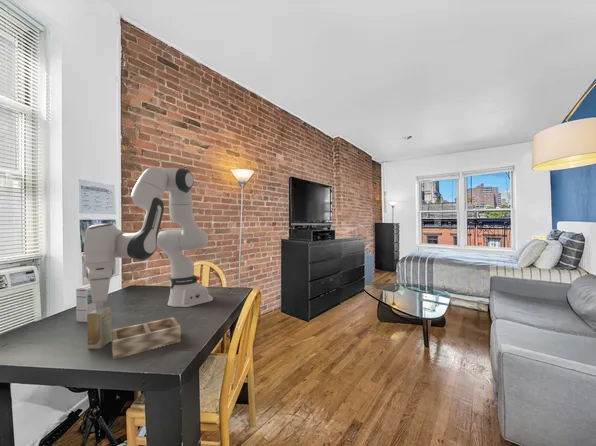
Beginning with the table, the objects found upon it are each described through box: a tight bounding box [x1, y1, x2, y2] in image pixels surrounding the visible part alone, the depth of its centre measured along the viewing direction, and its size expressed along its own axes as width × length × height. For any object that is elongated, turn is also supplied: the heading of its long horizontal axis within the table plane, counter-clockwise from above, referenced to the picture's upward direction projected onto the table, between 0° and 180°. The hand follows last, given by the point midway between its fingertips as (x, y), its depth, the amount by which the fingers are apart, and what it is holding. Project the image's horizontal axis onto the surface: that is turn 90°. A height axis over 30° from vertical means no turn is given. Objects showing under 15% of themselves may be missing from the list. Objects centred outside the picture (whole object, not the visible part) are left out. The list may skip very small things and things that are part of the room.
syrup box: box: [75, 284, 96, 323], centre depth 113 cm, size 6×6×14 cm
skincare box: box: [86, 306, 113, 350], centre depth 90 cm, size 6×4×12 cm
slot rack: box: [111, 316, 182, 360], centre depth 90 cm, size 20×11×6 cm, turn 128°
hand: (99, 310), depth 89 cm, fingers open, 8 cm apart
